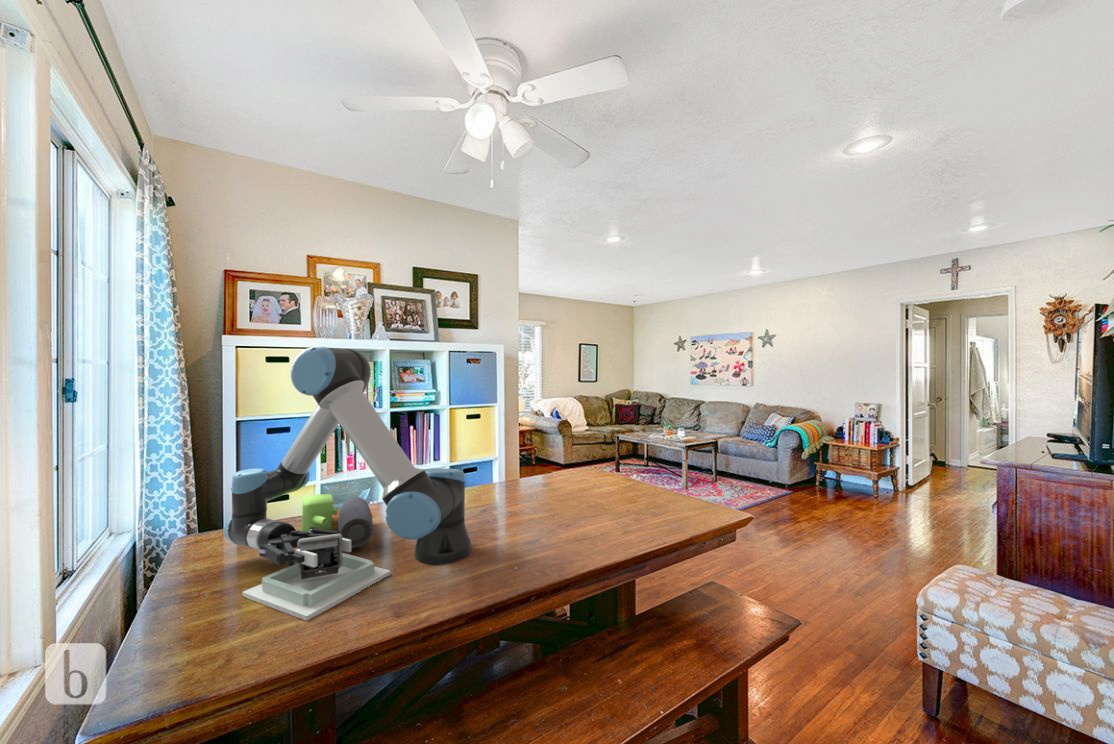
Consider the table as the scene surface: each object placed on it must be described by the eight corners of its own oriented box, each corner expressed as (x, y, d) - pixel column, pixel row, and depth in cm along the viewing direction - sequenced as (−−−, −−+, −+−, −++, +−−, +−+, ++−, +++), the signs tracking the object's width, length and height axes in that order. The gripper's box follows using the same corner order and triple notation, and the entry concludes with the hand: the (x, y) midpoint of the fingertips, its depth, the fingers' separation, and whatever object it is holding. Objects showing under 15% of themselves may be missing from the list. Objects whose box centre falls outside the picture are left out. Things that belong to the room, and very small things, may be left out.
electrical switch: (343, 566, 108) (342, 530, 107) (342, 577, 103) (341, 539, 102) (299, 573, 104) (298, 536, 103) (296, 585, 100) (295, 546, 99)
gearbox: (338, 535, 135) (339, 505, 135) (300, 540, 130) (302, 508, 130) (335, 517, 151) (336, 489, 151) (301, 520, 146) (303, 492, 146)
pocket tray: (390, 574, 109) (390, 560, 109) (306, 620, 89) (306, 603, 89) (330, 558, 118) (330, 545, 118) (242, 596, 98) (242, 580, 98)
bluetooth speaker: (374, 549, 124) (374, 513, 124) (338, 555, 120) (337, 518, 120) (370, 523, 145) (370, 493, 145) (338, 527, 141) (338, 496, 141)
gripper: (311, 536, 121) (370, 552, 111) (226, 568, 102) (289, 590, 92) (311, 509, 121) (370, 522, 111) (226, 536, 102) (289, 554, 92)
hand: (333, 553), depth 101 cm, fingers closed on electrical switch, 8 cm apart
